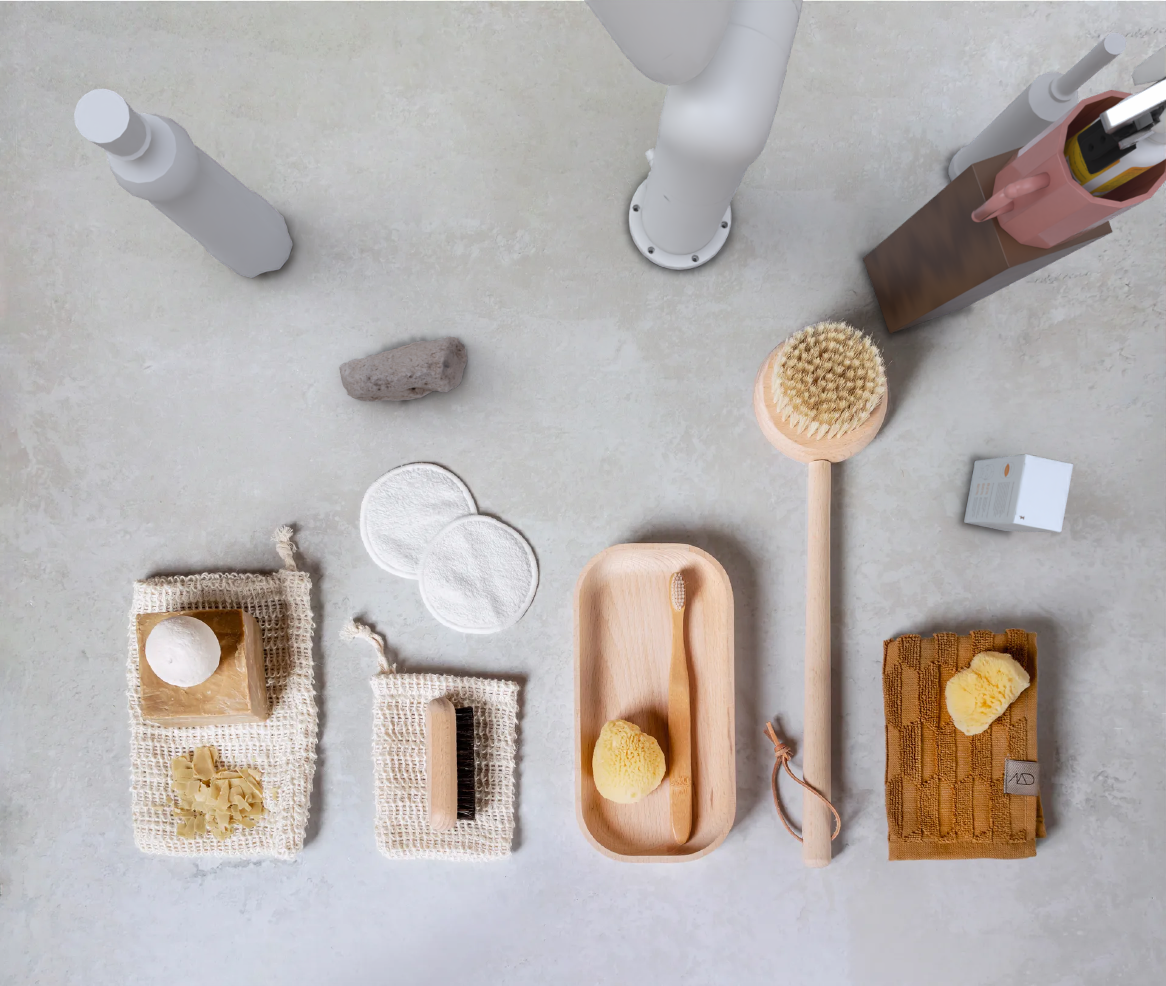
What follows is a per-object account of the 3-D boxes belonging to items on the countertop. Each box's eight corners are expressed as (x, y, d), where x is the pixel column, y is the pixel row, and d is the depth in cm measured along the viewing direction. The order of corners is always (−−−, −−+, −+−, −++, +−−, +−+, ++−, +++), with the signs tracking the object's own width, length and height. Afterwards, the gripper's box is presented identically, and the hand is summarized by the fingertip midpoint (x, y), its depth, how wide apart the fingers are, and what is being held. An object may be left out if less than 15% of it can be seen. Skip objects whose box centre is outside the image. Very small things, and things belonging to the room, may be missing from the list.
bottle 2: (995, 164, 90) (1154, 34, 66) (973, 199, 90) (1124, 82, 65) (960, 142, 91) (1105, 4, 66) (938, 177, 90) (1075, 51, 65)
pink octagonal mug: (943, 179, 65) (1001, 127, 56) (1072, 134, 65) (1151, 75, 56) (976, 273, 65) (1040, 236, 56) (1106, 228, 65) (1190, 184, 56)
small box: (1005, 531, 90) (1062, 535, 79) (961, 522, 90) (1012, 524, 79) (1018, 468, 90) (1076, 463, 79) (973, 459, 90) (1026, 453, 79)
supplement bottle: (1123, 155, 60) (1230, 88, 50) (1096, 213, 60) (1198, 157, 50) (1064, 127, 60) (1160, 54, 50) (1038, 186, 60) (1128, 124, 50)
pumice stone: (466, 337, 90) (452, 316, 80) (471, 398, 90) (458, 385, 80) (344, 348, 90) (315, 329, 80) (349, 409, 90) (321, 397, 80)
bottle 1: (284, 199, 90) (137, 46, 60) (307, 268, 90) (171, 150, 60) (214, 222, 90) (31, 80, 60) (237, 291, 90) (65, 185, 60)
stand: (862, 258, 90) (971, 163, 65) (938, 232, 90) (1075, 127, 65) (889, 333, 90) (1009, 268, 65) (965, 307, 90) (1113, 231, 65)
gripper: (1521, -156, 37) (1211, 60, 55) (1212, -50, 37) (1002, 131, 55) (1571, -19, 37) (1244, 152, 55) (1262, 88, 37) (1035, 224, 55)
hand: (1125, 140), depth 55 cm, fingers closed on supplement bottle, 5 cm apart
